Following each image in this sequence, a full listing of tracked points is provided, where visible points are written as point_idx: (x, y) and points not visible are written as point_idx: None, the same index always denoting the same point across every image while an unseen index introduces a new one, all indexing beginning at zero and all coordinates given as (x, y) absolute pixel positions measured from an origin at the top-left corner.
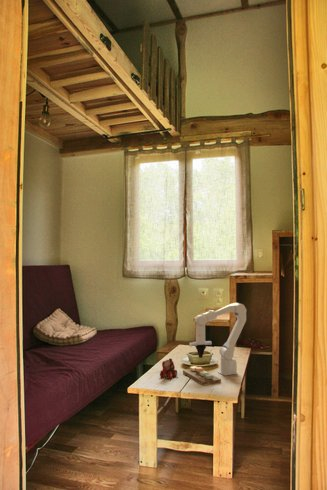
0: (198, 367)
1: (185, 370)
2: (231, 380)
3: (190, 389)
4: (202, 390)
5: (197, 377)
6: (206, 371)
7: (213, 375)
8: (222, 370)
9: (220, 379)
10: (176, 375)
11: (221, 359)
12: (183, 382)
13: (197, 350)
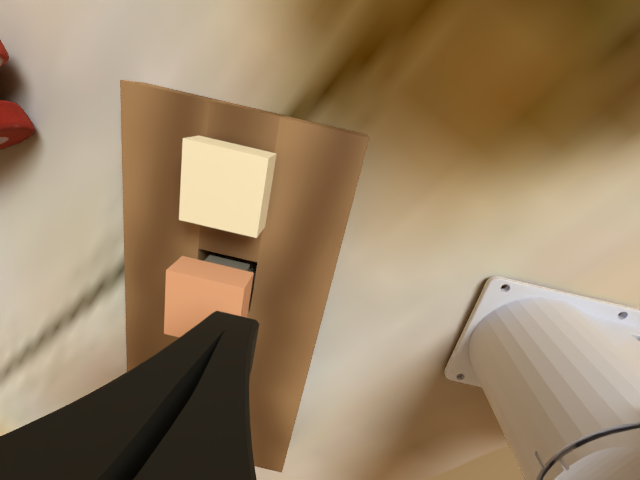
0: (208, 295)
1: (142, 112)
2: (385, 457)
3: (37, 418)
4: None
5: (141, 359)
6: (330, 283)
7: (295, 396)
8: (478, 365)
9: (277, 469)
10: (29, 133)
11: (546, 464)
12: (41, 304)
13: (79, 419)
